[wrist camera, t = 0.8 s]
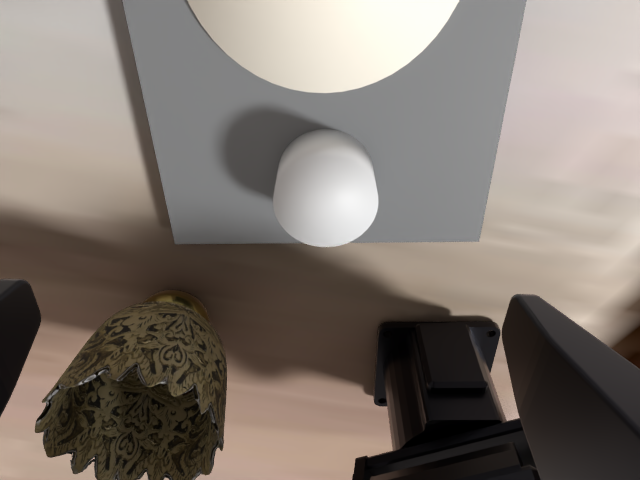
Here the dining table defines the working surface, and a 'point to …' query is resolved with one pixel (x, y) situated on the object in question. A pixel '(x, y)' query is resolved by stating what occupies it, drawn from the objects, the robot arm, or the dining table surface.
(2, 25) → the dining table surface
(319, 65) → the carrier plate
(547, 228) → the dining table surface
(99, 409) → the cup
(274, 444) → the dining table surface
